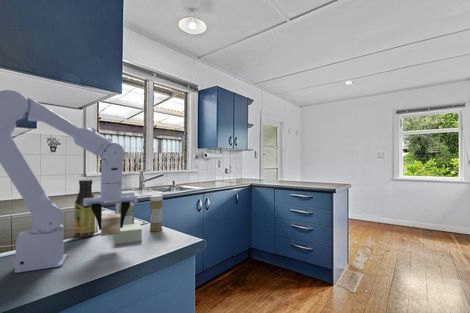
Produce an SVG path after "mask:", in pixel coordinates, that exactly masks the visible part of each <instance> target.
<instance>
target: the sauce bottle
mask: <svg viewBox="0 0 470 313" xmlns="http://www.w3.org/2000/svg"><path fill="white" fill-rule="evenodd" d="M78 184H79V185H78V186H79V190H78V195H77V197H76V199H75V201H74V224H73V225H74V228H73V229H74V231H73V232H74V236H75V237H76V238H88V237H90V236H93V235H94V234H95V228H96V227H95V226H96V224H95V223H96V217H95V215H94V213H93V211H92V209H91V207H92V205H88V206H83V199H84V198H95V197H96V196H94V194H93V190H92V185H93V179H88V178H87V179H86V178H85V179H79V180H78Z"/></svg>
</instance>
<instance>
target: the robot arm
mask: <svg viewBox="0 0 470 313" xmlns="http://www.w3.org/2000/svg"><path fill="white" fill-rule="evenodd" d="M26 117H27V121H28V122H41V123H44V124H46V125H47V126H50V127H52V128H54V129H56V130H58V131H60V132H61V133H64V134H65V135H68V136H69V137H71V138H73V141H74V144H75V145H77V146H79V147H80V148H82V149H83V150H85V151H88V152H89V153H92V154H93V155H95V156H98V157H99V158H100V159H101V168H100V169H101V170H100V173H101V174H100V196H94V197H95V198H84V199H83V206H88V205H92V207H91V209H92V211H93V213H94V215H95V220H96V221H97V226H98V231H101V218H102V215H103V213H102V212H103V205H113V204H114V205H115V204H118V203H121V220H120V228H123V222H124V219H125V216H126V213H127V211H128V209H129V207H130V203H134V204H137V203H138V195H135V196H122V191H123V160H124V159H125V157H126V152H125V149H124V148H123V145H121V144H119V143H117V142H112V138H110V137H108V138H107V137H105V136H103V135H102V134H101V133H98V132H97V131H98V130H97V129H96V128H94V127H91V128H89V127H79V126H78V125H76V124H74V123H72V122H71V121H69V120H68V119H66V118H65V117H63V116H61V115H60V114H58V113H57V112H55V111H53V110H52V109H50V108H48V107H47V106H45V105H44V104H42V103H40V102H38V101H36V100H34V99H32V98H31V97H25V96H24V95H23V94H22V93H21V92H19V91H16V90H11V89H5V90H0V165H1V166H2V168H3V169H4V172H5V173H6V175H7V176H8V178H9V179H10V181H11V182H12V183H13V185H14V187H15V188H16V190H17V192H18V193H19V195H20V196H21V198H22V200H23V201H24V203H25V205H26V207H27V209H28V211H29V212H30V214H31V224H32V225H31V227H30V228H29V229H28V230H27V231H21V232H19V234H18V236H17V237H16V241H15V266H14V267H15V269H14V273H15V274H16V273H22V272H31V271H32V272H33V271H37V270H43V269H45V270H46V269H50V268H51V269H52V268H59V267H62V266H63V264H64V262H65V260H66V258H67V257H68V253H64V227H65V226H64V224H63V221H64V213H63V211H62V209H60V206H59V205H58V204H57V203H55V202H54V201H52V200H51V199H50V198H49V196H48V194H47V193H46V191H45V190H44V188H43V186H42V185H41V183H40V182H39V180H38V178H37V176H36V175H35V173H34V172H33V170H32V168H31V167H30V166H29V165H30V164H28V162H27V160H26V159H25V157H24V156H23V154H22V152H21V151H20V148H19V147H18V145H17V144H16V142H15V140H14V139H13V136H12V135H13V133H14V132H15V129H16V127H17V125H18V124H20V123H21V122H22V121H23V120H24V119H25V118H26ZM115 201H119V202H115Z"/></svg>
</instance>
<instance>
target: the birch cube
mask: <svg viewBox="0 0 470 313" xmlns="http://www.w3.org/2000/svg"><path fill="white" fill-rule="evenodd" d="M117 234H120V214H115V213H112V214H102V218H101V230H100V237H105V236H106V237H107V236H115V235H117Z"/></svg>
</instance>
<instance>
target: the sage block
mask: <svg viewBox="0 0 470 313" xmlns="http://www.w3.org/2000/svg"><path fill="white" fill-rule="evenodd" d="M142 232H143V230H142V225H141V223H140V222H138V223H134V224H126V225H123V228H120V234H117V235H114V245H117V244H126V243H135V242H142V241H143V240H142V239H143V237H142V236H143V235H142V234H143V233H142Z"/></svg>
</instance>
